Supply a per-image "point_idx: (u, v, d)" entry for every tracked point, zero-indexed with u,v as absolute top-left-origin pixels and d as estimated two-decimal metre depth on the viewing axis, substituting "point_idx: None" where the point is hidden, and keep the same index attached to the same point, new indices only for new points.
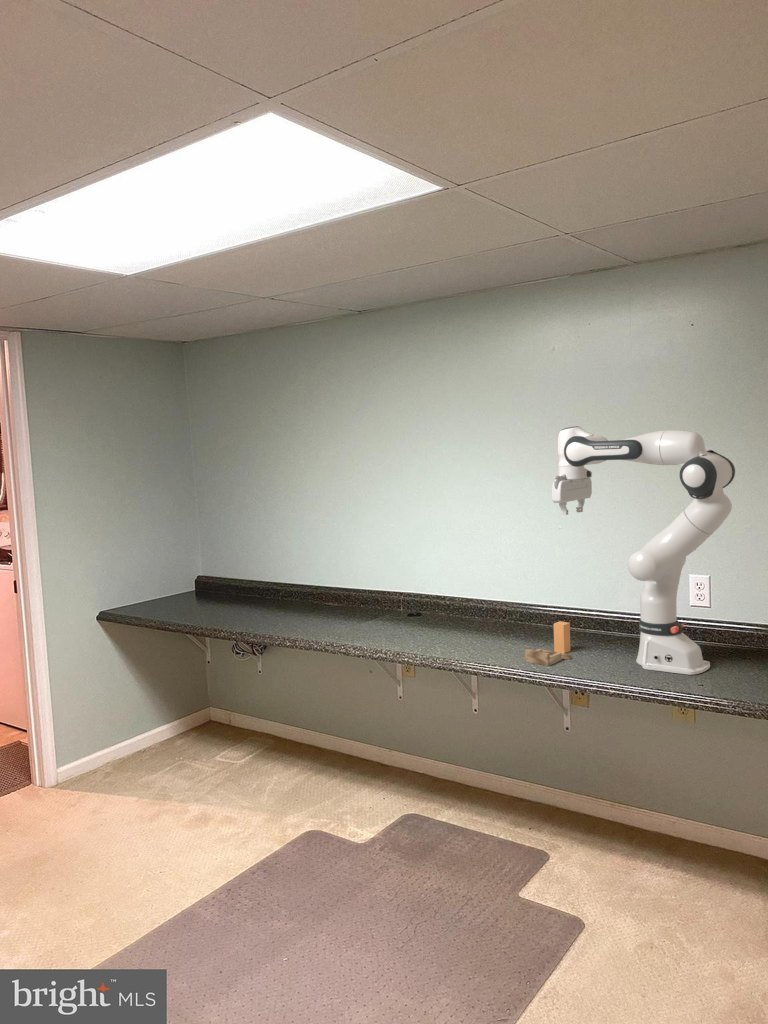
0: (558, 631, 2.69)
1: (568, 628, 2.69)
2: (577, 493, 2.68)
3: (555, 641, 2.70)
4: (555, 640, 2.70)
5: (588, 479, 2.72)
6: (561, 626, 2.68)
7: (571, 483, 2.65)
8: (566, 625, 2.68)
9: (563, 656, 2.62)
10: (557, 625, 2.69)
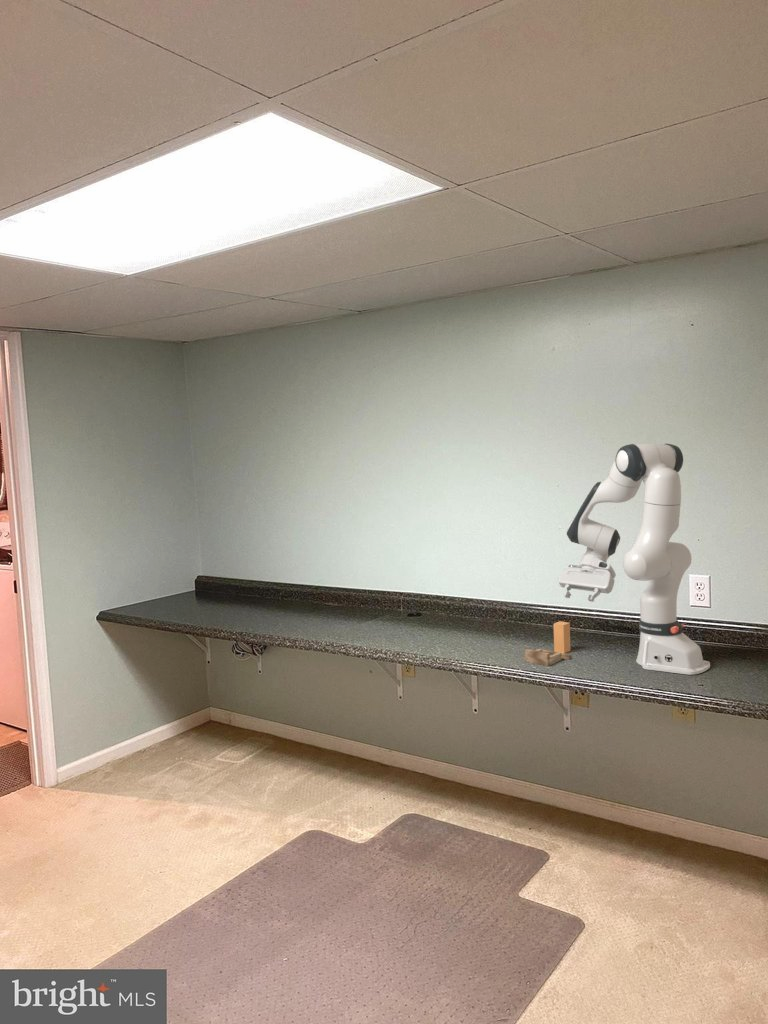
0: (558, 631, 2.69)
1: (568, 628, 2.69)
2: (585, 580, 2.79)
3: (554, 641, 2.70)
4: (555, 640, 2.70)
5: (603, 570, 2.76)
6: (561, 626, 2.68)
7: (579, 570, 2.83)
8: (566, 625, 2.68)
9: (563, 656, 2.62)
10: (556, 625, 2.69)
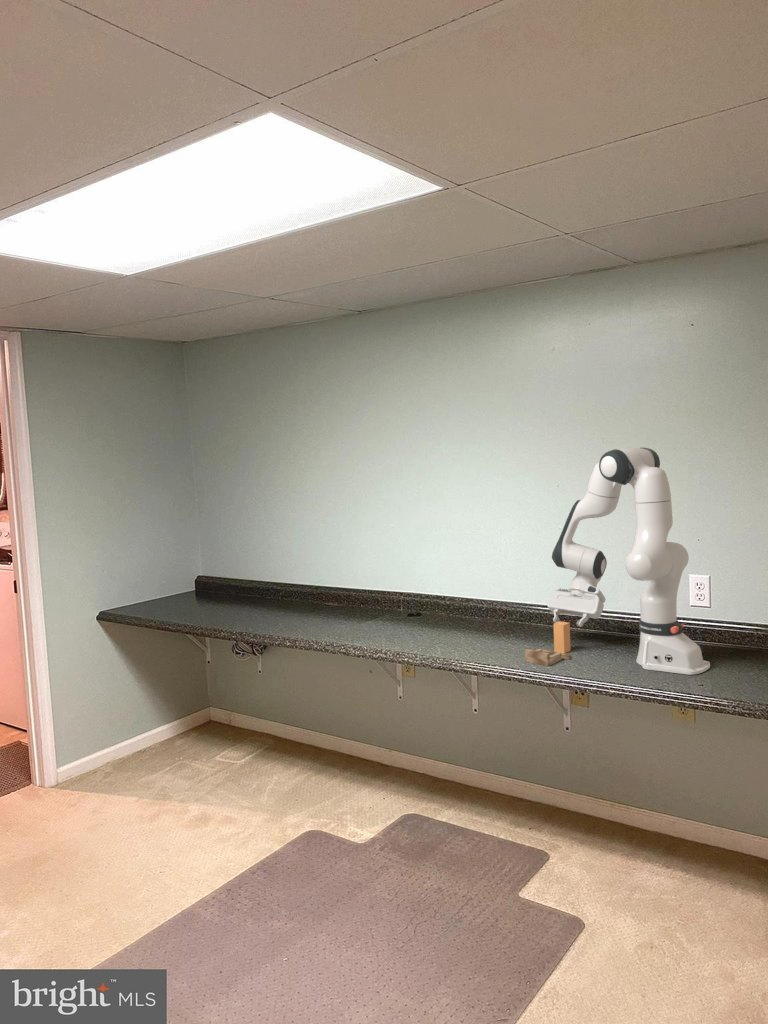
0: (558, 631, 2.69)
1: (568, 628, 2.69)
2: (573, 604, 2.74)
3: (555, 641, 2.70)
4: (555, 640, 2.70)
5: (592, 595, 2.71)
6: (561, 626, 2.68)
7: (568, 594, 2.78)
8: (566, 625, 2.68)
9: (563, 656, 2.62)
10: (556, 625, 2.69)
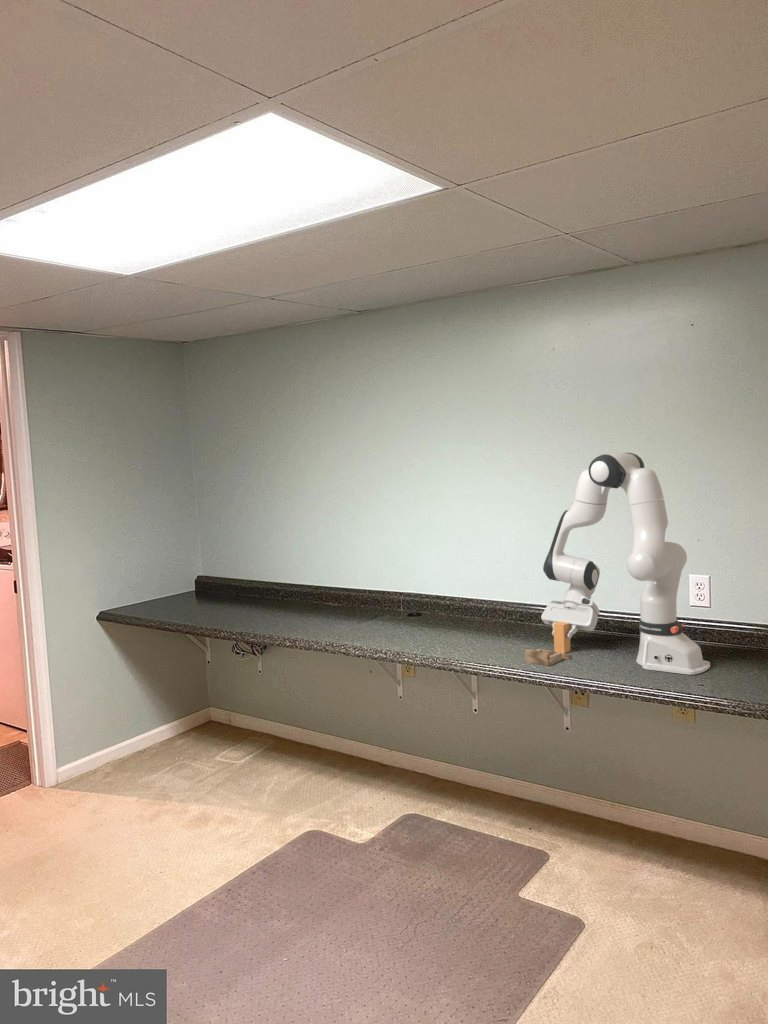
0: (558, 631, 2.69)
1: (568, 628, 2.69)
2: (567, 617, 2.71)
3: (554, 641, 2.70)
4: (555, 640, 2.70)
5: (586, 607, 2.68)
6: (561, 626, 2.68)
7: (562, 606, 2.75)
8: (566, 625, 2.68)
9: (563, 656, 2.62)
10: (556, 625, 2.69)
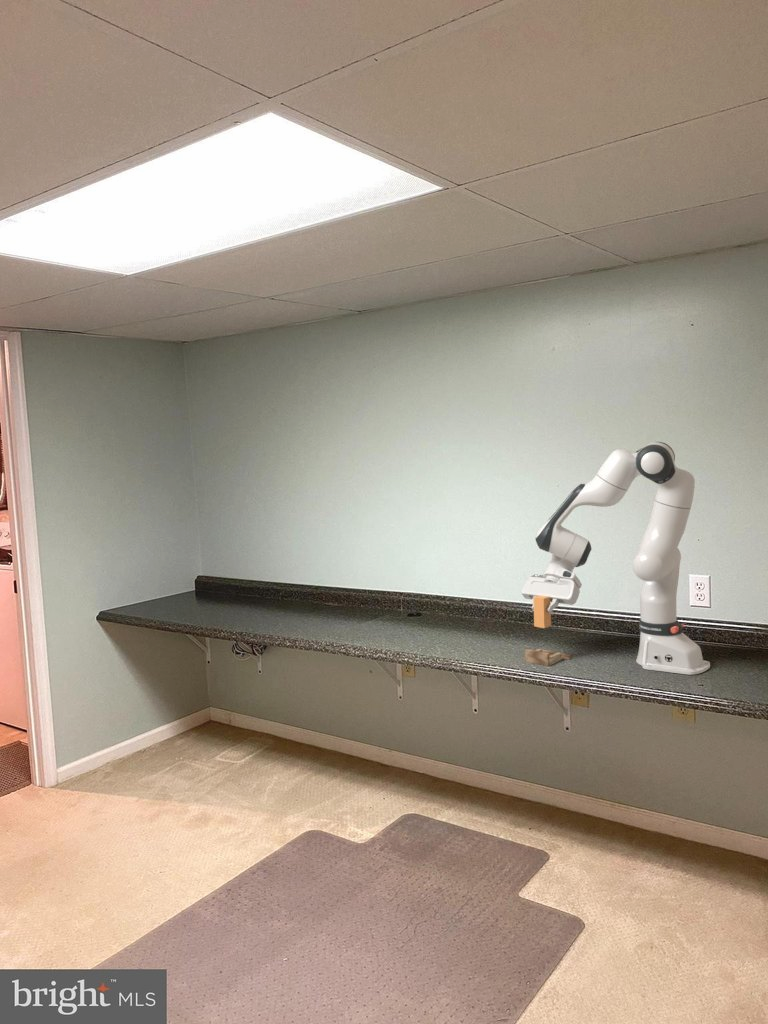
0: (538, 604, 2.58)
1: (548, 602, 2.58)
2: (548, 590, 2.60)
3: (534, 615, 2.59)
4: (535, 614, 2.59)
5: (567, 580, 2.57)
6: (541, 600, 2.57)
7: (543, 580, 2.64)
8: (546, 599, 2.57)
9: (563, 656, 2.62)
10: (536, 598, 2.58)
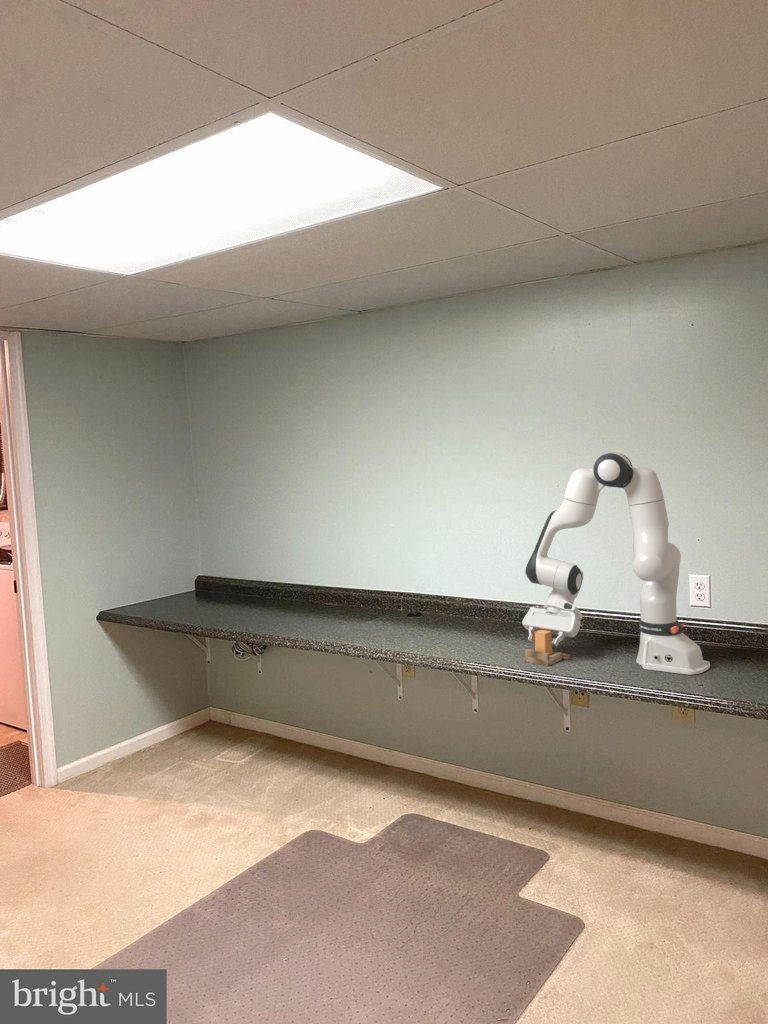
0: (539, 639, 2.59)
1: (549, 637, 2.59)
2: (549, 622, 2.61)
3: (536, 650, 2.60)
4: (536, 649, 2.60)
5: (568, 612, 2.58)
6: (542, 635, 2.58)
7: (544, 611, 2.65)
8: (548, 634, 2.58)
9: (563, 656, 2.62)
10: (538, 633, 2.59)
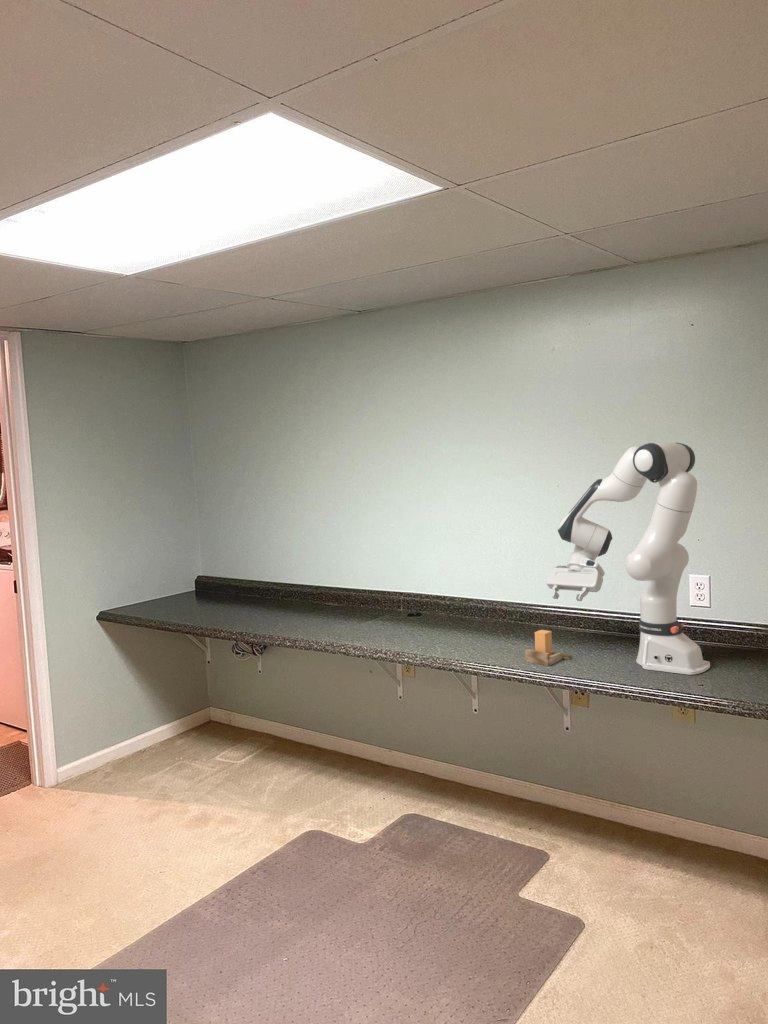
0: (539, 639, 2.59)
1: (549, 637, 2.59)
2: (572, 579, 2.70)
3: (536, 650, 2.60)
4: (536, 649, 2.60)
5: (591, 568, 2.68)
6: (542, 635, 2.58)
7: (567, 570, 2.75)
8: (548, 634, 2.58)
9: (563, 656, 2.62)
10: (538, 633, 2.59)
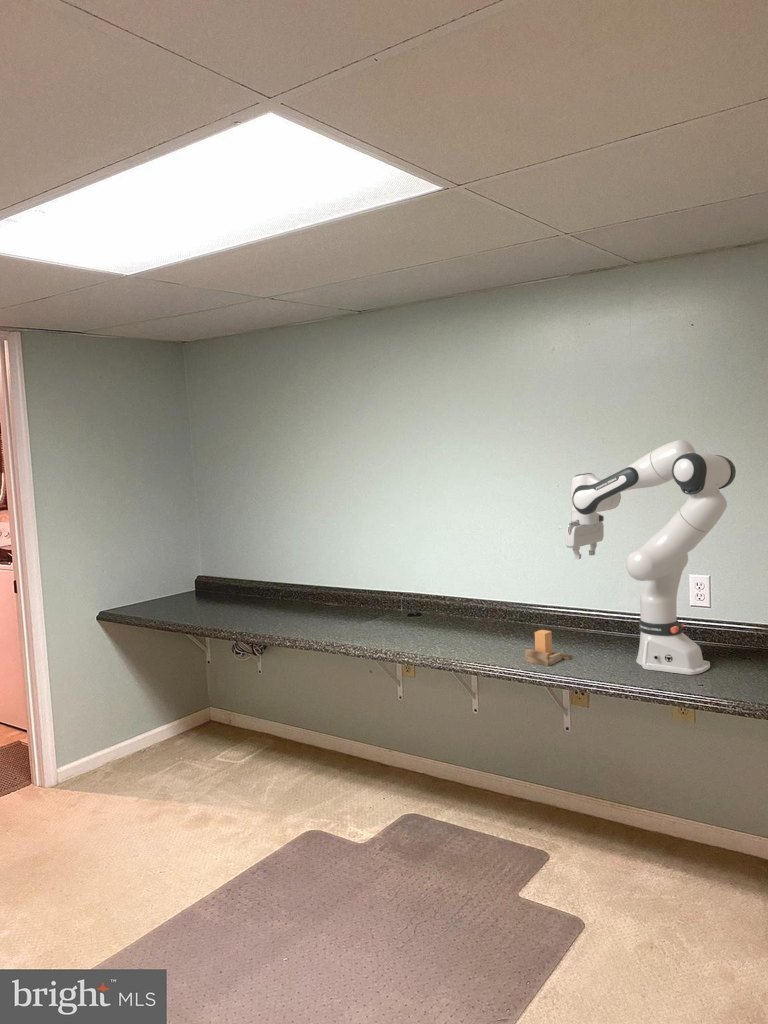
0: (539, 639, 2.59)
1: (549, 637, 2.59)
2: (590, 537, 2.76)
3: (536, 650, 2.60)
4: (536, 649, 2.60)
5: (600, 523, 2.79)
6: (542, 635, 2.58)
7: (584, 528, 2.73)
8: (548, 634, 2.58)
9: (563, 656, 2.62)
10: (538, 633, 2.59)
